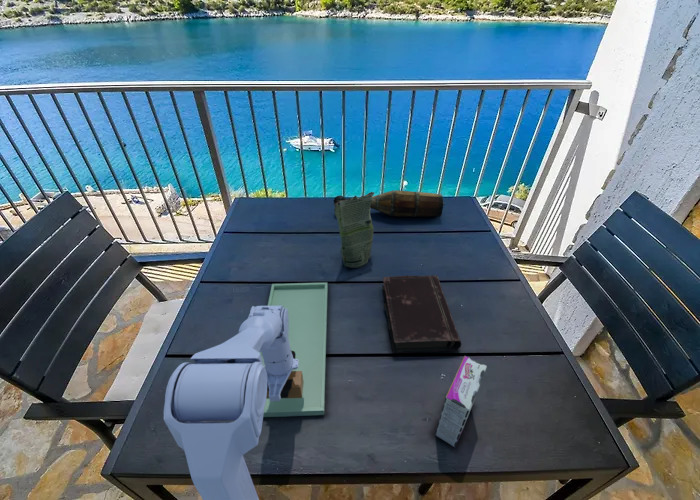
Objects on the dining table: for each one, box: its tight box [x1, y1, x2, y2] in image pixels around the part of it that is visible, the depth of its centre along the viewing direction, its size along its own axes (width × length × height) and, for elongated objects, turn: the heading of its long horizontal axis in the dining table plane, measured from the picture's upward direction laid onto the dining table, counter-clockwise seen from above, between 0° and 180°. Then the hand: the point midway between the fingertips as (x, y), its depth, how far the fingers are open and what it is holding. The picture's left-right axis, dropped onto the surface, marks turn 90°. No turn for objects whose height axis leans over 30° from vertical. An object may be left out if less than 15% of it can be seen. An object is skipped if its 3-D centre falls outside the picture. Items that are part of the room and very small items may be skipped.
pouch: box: [333, 191, 375, 269], centre depth 116 cm, size 11×12×25 cm
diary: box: [382, 275, 462, 354], centre depth 101 cm, size 19×25×5 cm
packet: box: [266, 371, 304, 399], centre depth 78 cm, size 4×8×4 cm, turn 91°
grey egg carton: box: [434, 355, 488, 448], centre depth 73 cm, size 11×5×16 cm, turn 147°
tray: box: [259, 282, 329, 418], centre depth 95 cm, size 42×18×2 cm, turn 2°
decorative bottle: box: [332, 189, 446, 218], centre depth 143 cm, size 11×11×45 cm
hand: (284, 386), depth 79 cm, fingers closed on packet, 4 cm apart
